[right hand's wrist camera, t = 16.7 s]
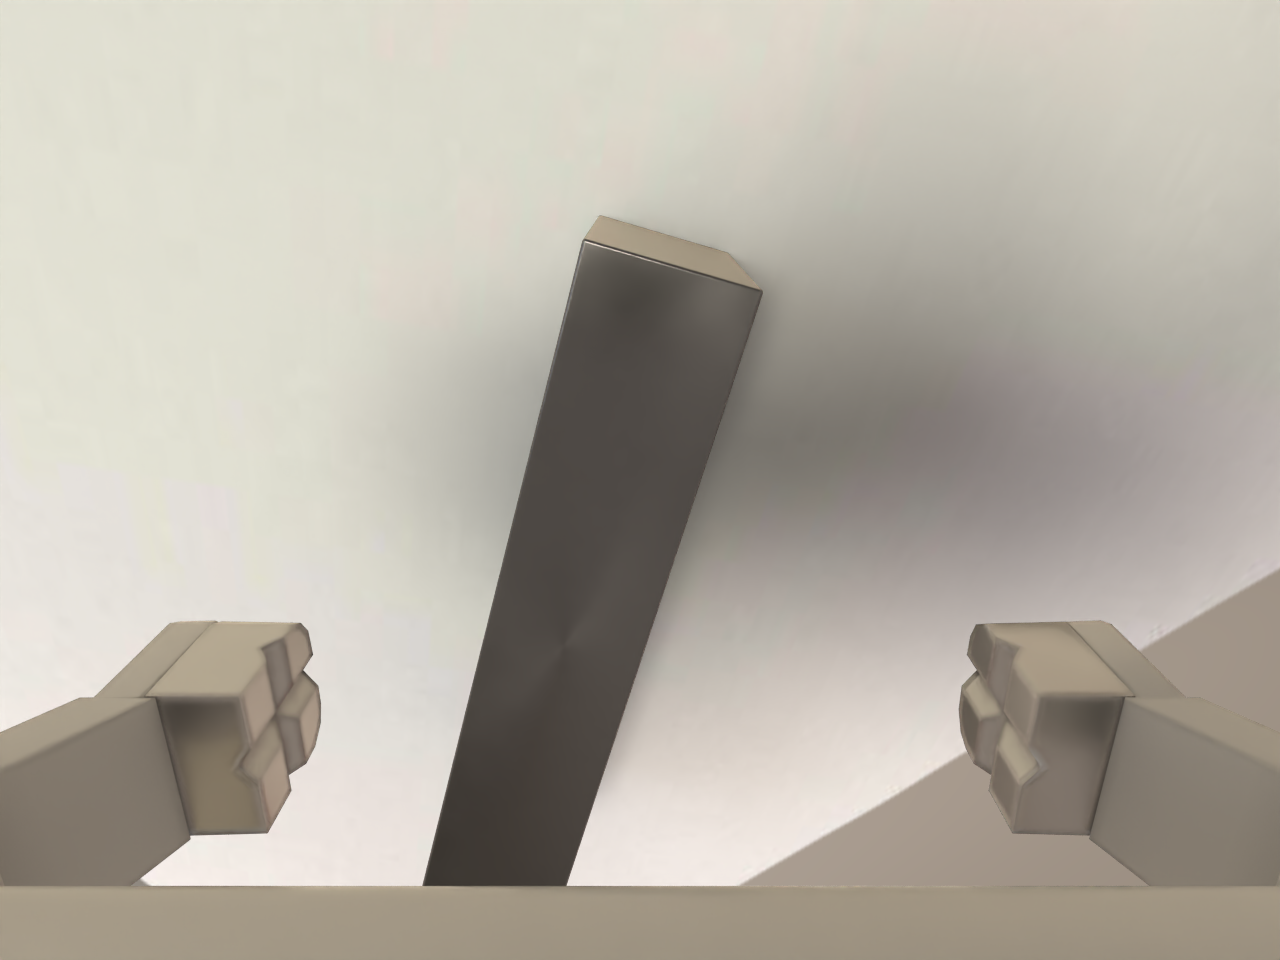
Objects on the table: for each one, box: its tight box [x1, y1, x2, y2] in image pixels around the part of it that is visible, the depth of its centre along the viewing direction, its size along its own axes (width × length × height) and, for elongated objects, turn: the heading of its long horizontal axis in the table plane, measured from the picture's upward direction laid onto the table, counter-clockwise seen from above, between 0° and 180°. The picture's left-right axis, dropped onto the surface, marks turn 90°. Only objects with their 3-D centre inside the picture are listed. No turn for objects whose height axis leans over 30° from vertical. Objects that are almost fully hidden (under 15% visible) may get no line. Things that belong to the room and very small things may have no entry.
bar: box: [422, 216, 763, 886], centre depth 31 cm, size 25×5×9 cm, turn 164°
